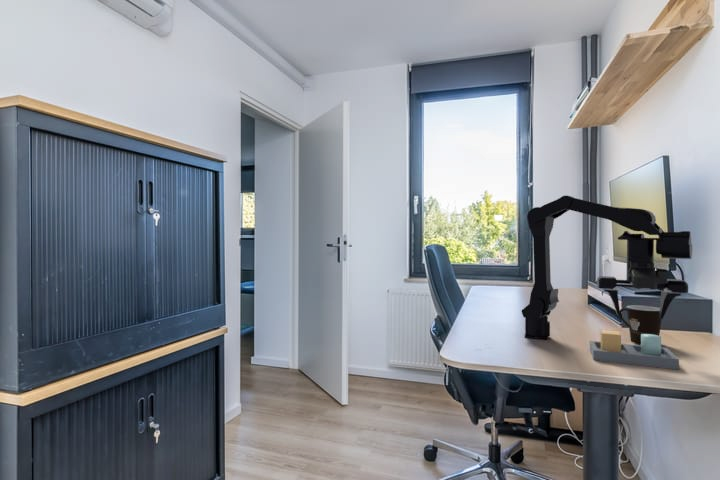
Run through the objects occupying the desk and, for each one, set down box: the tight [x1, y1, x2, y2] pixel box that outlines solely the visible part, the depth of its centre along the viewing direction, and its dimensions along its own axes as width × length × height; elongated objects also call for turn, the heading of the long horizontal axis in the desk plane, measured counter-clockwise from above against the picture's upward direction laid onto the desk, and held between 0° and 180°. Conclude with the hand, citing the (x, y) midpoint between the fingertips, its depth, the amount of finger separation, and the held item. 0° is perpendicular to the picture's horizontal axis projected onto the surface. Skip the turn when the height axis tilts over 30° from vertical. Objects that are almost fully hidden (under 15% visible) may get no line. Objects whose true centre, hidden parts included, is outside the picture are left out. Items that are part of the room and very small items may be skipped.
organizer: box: [589, 340, 680, 370], centre depth 98 cm, size 17×10×2 cm, turn 64°
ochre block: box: [600, 329, 622, 352], centre depth 100 cm, size 4×4×5 cm
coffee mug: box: [619, 304, 663, 345], centre depth 114 cm, size 12×9×10 cm
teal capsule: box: [640, 334, 662, 356], centre depth 96 cm, size 4×4×5 cm
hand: (639, 317), depth 102 cm, fingers open, 9 cm apart
